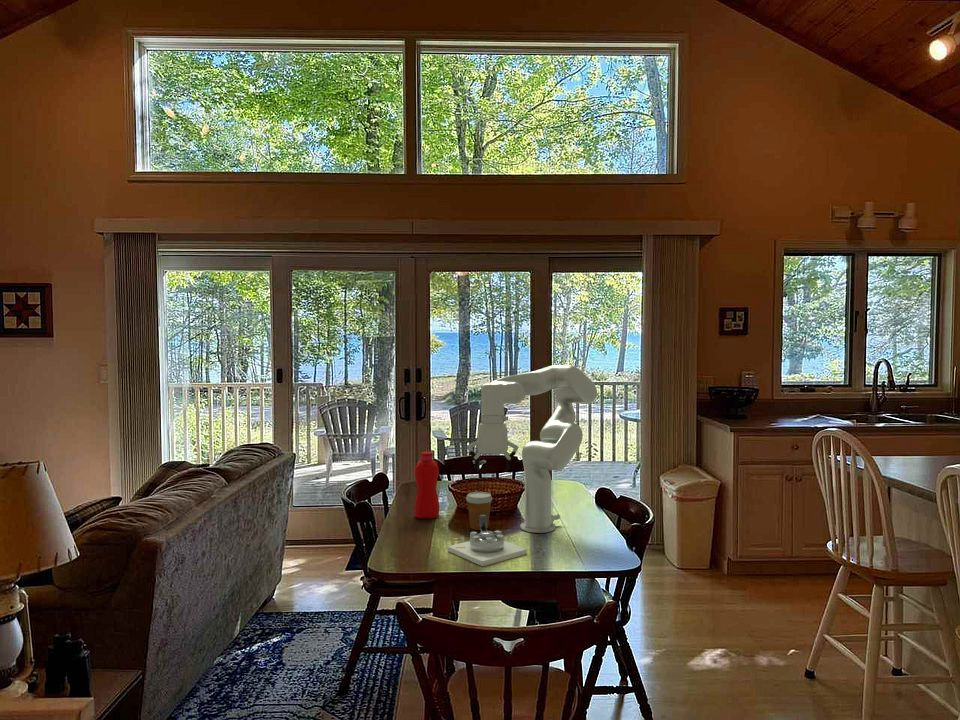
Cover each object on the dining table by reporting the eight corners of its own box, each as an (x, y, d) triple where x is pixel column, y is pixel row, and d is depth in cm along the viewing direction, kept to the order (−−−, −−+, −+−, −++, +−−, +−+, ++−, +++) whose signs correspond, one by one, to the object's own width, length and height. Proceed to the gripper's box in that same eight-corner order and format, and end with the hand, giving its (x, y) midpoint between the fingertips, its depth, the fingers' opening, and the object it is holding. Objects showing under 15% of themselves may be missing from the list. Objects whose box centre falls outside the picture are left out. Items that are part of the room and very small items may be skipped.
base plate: (490, 540, 216) (490, 535, 216) (526, 553, 202) (526, 548, 202) (447, 550, 205) (447, 546, 205) (482, 566, 191) (482, 561, 191)
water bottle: (440, 512, 252) (440, 449, 251) (437, 519, 241) (437, 454, 240) (417, 511, 252) (417, 449, 252) (413, 519, 241) (413, 454, 241)
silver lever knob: (507, 551, 199) (506, 526, 199) (472, 553, 197) (472, 528, 197) (498, 537, 213) (498, 514, 213) (466, 539, 212) (466, 515, 212)
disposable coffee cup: (462, 525, 234) (462, 493, 233) (486, 522, 237) (486, 490, 237) (471, 532, 225) (471, 498, 224) (496, 529, 228) (496, 496, 228)
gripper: (518, 418, 215) (518, 469, 216) (467, 418, 216) (467, 468, 217) (518, 421, 208) (518, 473, 208) (465, 421, 209) (465, 472, 209)
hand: (492, 470), depth 212 cm, fingers open, 9 cm apart
